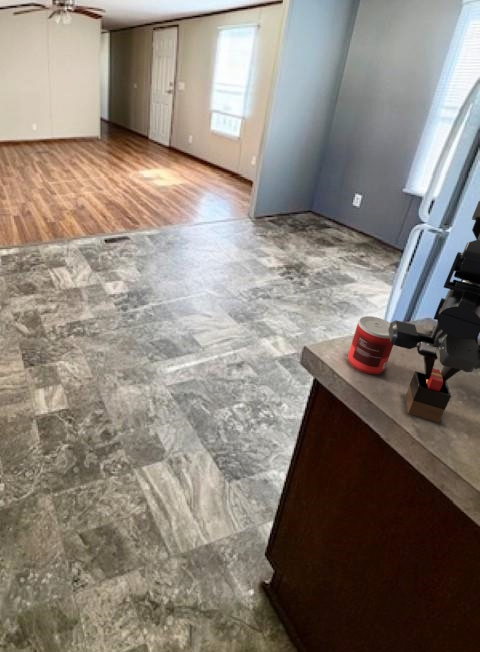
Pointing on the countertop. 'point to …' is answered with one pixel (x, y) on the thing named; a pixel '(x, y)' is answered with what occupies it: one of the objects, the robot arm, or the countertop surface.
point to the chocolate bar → (435, 380)
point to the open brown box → (429, 392)
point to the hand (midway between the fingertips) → (433, 380)
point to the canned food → (370, 345)
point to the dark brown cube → (422, 409)
